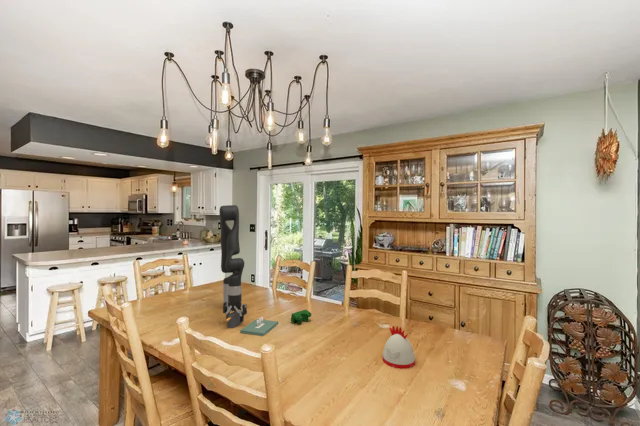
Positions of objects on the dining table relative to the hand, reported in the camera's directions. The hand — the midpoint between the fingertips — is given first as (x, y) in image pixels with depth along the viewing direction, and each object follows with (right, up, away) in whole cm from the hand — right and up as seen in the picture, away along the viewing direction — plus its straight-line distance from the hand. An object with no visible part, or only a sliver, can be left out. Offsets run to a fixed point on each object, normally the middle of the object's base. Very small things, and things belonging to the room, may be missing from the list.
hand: (234, 321), depth 177 cm
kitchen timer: (+84, -3, -41) cm, 93 cm away
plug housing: (-1, -2, -2) cm, 3 cm away
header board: (+15, -2, -5) cm, 16 cm away
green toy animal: (+38, -3, +5) cm, 38 cm away
